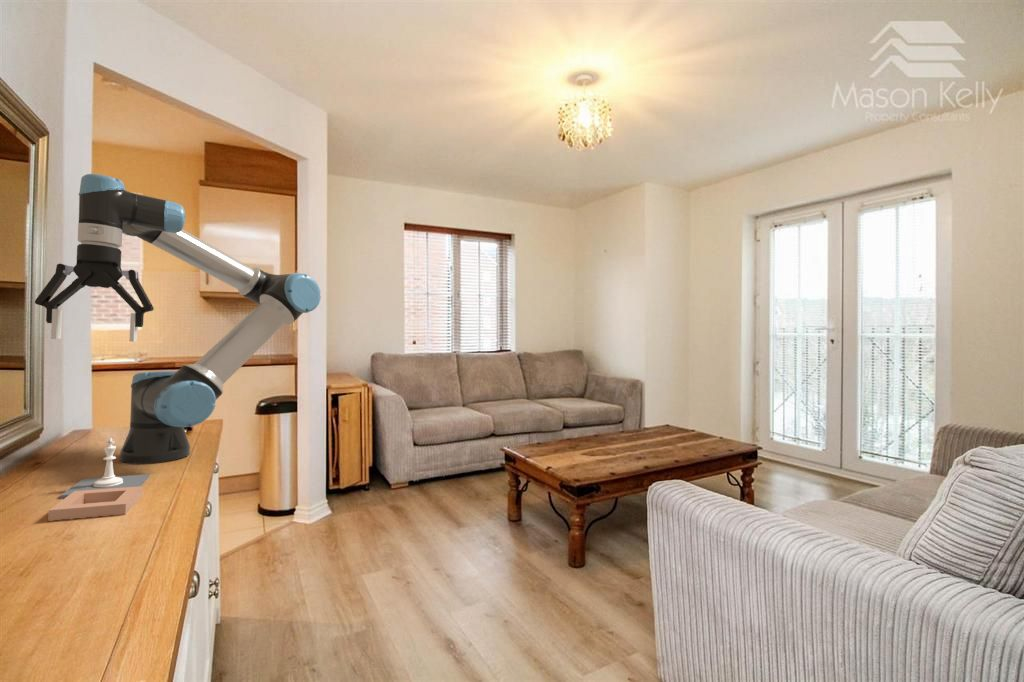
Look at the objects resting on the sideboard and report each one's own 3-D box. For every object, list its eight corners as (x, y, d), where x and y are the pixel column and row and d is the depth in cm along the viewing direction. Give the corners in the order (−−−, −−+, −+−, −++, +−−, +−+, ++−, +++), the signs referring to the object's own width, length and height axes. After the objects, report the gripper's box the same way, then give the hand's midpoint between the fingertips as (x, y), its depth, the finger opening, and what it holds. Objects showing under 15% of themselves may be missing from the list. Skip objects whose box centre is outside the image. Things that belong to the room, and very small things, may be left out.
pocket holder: (74, 501, 94) (74, 491, 94) (142, 495, 99) (142, 486, 99) (48, 521, 84) (48, 510, 84) (125, 514, 89) (125, 503, 89)
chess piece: (106, 488, 100) (108, 441, 100) (87, 486, 101) (89, 439, 101) (129, 481, 105) (130, 436, 105) (110, 479, 106) (112, 435, 106)
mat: (83, 481, 106) (83, 478, 106) (149, 476, 111) (149, 474, 111) (59, 498, 95) (60, 495, 95) (134, 492, 100) (134, 490, 100)
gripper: (16, 235, 98) (11, 337, 98) (163, 250, 108) (159, 342, 108) (34, 241, 104) (30, 337, 104) (170, 254, 115) (166, 341, 115)
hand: (95, 340), depth 106 cm, fingers open, 13 cm apart
